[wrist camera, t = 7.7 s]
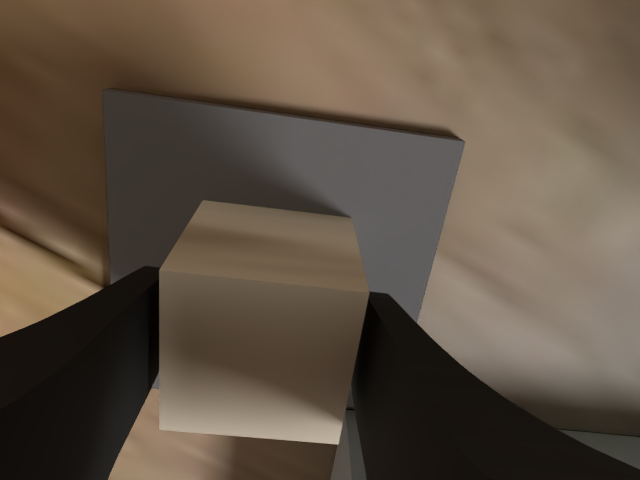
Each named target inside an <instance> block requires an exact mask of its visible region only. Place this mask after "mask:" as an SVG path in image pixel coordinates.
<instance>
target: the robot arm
mask: <svg viewBox="0 0 640 480" xmlns="http://www.w3.org/2000/svg"><path fill="white" fill-rule="evenodd" d="M159 270H160V267H152V266H144V267H142V268H139V269H138V270H136V271H134V272H132V273H130V274H128V275H127V276H125V277H123V278H121V279H120V280H118V281H116V282H114V283H113V284H111V285H109V286H107V287H106V288H104V289H102V290H100V291H98V292H97V293H95V294H93V295H91V296H89V297H88V298H86V299H84V300H82V301H80V302H78V303H76V304H74V305H72V306H70V307H68V308H66V309H64V310H62V311H60V312H58V313H56V314H54V315H52V316H50V317H48V318H46V319H43V320H41V321H39V322H37V323H34V324H32V325H30V326H27V327H25V328H23V329H20V330H17V331H15V332H12V333H10V334H7V335H5V336H2V337H0V480H108V477H109V475H110V473H111V470H112V468H113V466H114V463H115V461H116V459H117V457H118V454H119V452H120V450H121V448H122V446H123V444H124V442H125V440H126V438H127V436H128V434H129V432H130V430H131V428H132V426H133V424H134V422H135V420H136V418H137V416H138V414H139V412H140V410H141V408H142V406H143V404H144V402H145V400H146V398H147V396H148V394H149V392H150V390H151V388H152V386H153V384H154V382H155V379H156V377H157V375H158V373H159ZM351 391H352V399H353V405H354V410H355V416H356V422H357V428H358V433H359V439H360V444H361V450H362V456H363V461H364V467H365V472H366V479H367V480H640V469H638V468H636V467H633V466H631V465H629V464H627V463H624V462H622V461H620V460H618V459H616V458H613V457H611V456H609V455H607V454H605V453H602V452H600V451H598V450H596V449H594V448H592V447H590V446H588V445H586V444H584V443H582V442H580V441H578V440H576V439H574V438H572V437H570V436H568V435H567V434H565V433H563V432H561V431H559V430H557V429H555V428H553V427H552V426H550V425H548V424H546V423H545V422H543V421H541V420H539V419H538V418H536V417H534V416H533V415H531V414H530V413H528V412H526V411H525V410H523V409H522V408H520V407H518V406H517V405H515V404H514V403H512V402H511V401H509V400H507V399H506V398H504V397H503V396H502V395H500V394H499V393H497V392H496V391H494V390H493V389H492V388H490V387H489V386H488V385H486V384H485V383H484V382H482V381H481V380H480V379H478V378H477V377H476V376H474V375H473V374H472V373H470V372H469V371H468V370H467V369H465V368H464V367H463V366H462V365H460V364H459V363H458V362H457V361H456V360H455V359H454V358H453V357H451V356H450V355H449V354H448V353H447V352H446V351H445V350H444V349H442V348H441V347H440V346H439V345H438V344H437V343H436V342H435V341H434V340H433V339H432V338H431V337H430V336H429V335H428V334H427V333H426V332H425V331H424V330H423V329H422V328H421V327H420V326H419V325H418V324H417V323H416V322H415V321H414V320H413V319H412V318H411V317H410V316H409V314H408V313H407V312H406V311H405V310H404V309H403V308H402V307H401V306H400V305H399V304H398V303H397V302H396V301H395V300H394V299H393V298H392V297H391V296H390V295H389V294H388V293H379V292H370V291H369V297H368V302H367V307H366V312H365V317H364V322H363V327H362V332H361V337H360V342H359V346H358V351H357V356H356V361H355V366H354V371H353V376H352V381H351Z"/></svg>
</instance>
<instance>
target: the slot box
mask: <svg viewBox="0 0 640 480" xmlns="http://www.w3.org/2000/svg"><path fill="white" fill-rule="evenodd" d="M559 431H561V432H563V433H565V434H567V435H568V436H570V437H572V438H574V439H576V440H578V441H580V442H582V443H584V444H586V445H588V446H590V447H592V448H594V449H596V450H598V451H600V452H602V453H605V454H607V455H609V456H611V457H613V458H616V459H618V460H620V461H622V462H624V463H627V464H629V465H631V466H633V467H636V468H638V469H640V437H632V436H621V435H610V434H600V433H589V432H579V431H568V430H559ZM330 480H367V479H366V472H365V467H364V461H363V456H362V450H361V444H360V439H359V433H358V428H357V422H356V416H355V410H345V415H344V420H343V425H342V430H341V435H340V439H339V444H338V445H337V450H336V454H335V459H334V464H333V468H332V473H331V478H330Z"/></svg>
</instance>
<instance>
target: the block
mask: <svg viewBox="0 0 640 480" xmlns="http://www.w3.org/2000/svg"><path fill="white" fill-rule="evenodd" d="M368 297H369V288H368V284H367V280H366V276H365V271H364V267H363V263H362V259H361V254H360V250H359V246H358V241H357V237H356V233H355V229H354V224H353V220H352V218H349V217H341V216H333V215H324V214H316V213H307V212H299V211H291V210H282V209H274V208H265V207H257V206H249V205H240V204H232V203H223V202H215V201H207V200H203V201H202V202H201V204H200V206H199V207H198V209H197V210H196V212H195V214H194V215H193V217H192V218H191V220H190V222H189V223H188V225H187V226H186V228H185V230H184V231H183V233H182V234H181V236H180V238H179V239H178V241H177V242H176V244H175V246H174V247H173V249H172V250H171V252H170V254H169V255H168V257H167V258H166V260H165V262H164V263H163V265H162V266H161V268H160V270H159V416H160V430H168V431H180V432H192V433H204V434H217V435H229V436H241V437H253V438H265V439H277V440H289V441H302V442H314V443H326V444H339V439H340V435H341V430H342V425H343V420H344V415H345V410H346V405H347V400H348V395H349V390H350V386H351V381H352V376H353V371H354V366H355V361H356V356H357V351H358V346H359V342H360V337H361V332H362V327H363V322H364V317H365V312H366V307H367V302H368Z"/></svg>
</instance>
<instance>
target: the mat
mask: <svg viewBox="0 0 640 480" xmlns="http://www.w3.org/2000/svg"><path fill="white" fill-rule="evenodd" d="M103 114H104V138H105V163H106V188H107V213H108V237H109V262H110V285H111V284H113V283H114V282H116V281H118V280H120V279H121V278H123V277H125V276H127V275H128V274H130V273H132V272H134V271H136V270H138V269H139V268H142V267H144V266H152V267H160V268H161V266H162V265H163V263H164V262H165V260H166V258H167V257H168V255H169V254H170V252H171V250H172V249H173V247H174V246H175V244H176V242H177V241H178V239H179V238H180V236H181V234H182V233H183V231H184V230H185V228H186V226H187V225H188V223H189V222H190V220H191V218H192V217H193V215H194V214H195V212H196V210H197V209H198V207H199V206H200V204H201V202H202V201H203V200H207V201H215V202H223V203H232V204H240V205H249V206H257V207H265V208H274V209H282V210H291V211H299V212H307V213H316V214H324V215H333V216H341V217H349V218H352V220H353V224H354V229H355V233H356V237H357V241H358V246H359V250H360V254H361V259H362V263H363V267H364V271H365V276H366V280H367V284H368V288H369V291H370V292H379V293H388V294H389V295H390V296H391V297H392V298H393V299H394V300H395V301H396V302H397V303H398V304H399V305H400V306H401V307H402V308H403V309H404V310H405V311H406V312H407V313H408V314H409V316H410V317H411V318H412V319H413V320H414V321H415V322H416V323H417V320H418V316H419V312H420V309H421V305H422V301H423V297H424V294H425V290H426V286H427V283H428V279H429V275H430V271H431V268H432V264H433V260H434V256H435V253H436V249H437V245H438V241H439V238H440V234H441V230H442V227H443V223H444V219H445V215H446V212H447V208H448V204H449V200H450V197H451V193H452V189H453V185H454V182H455V178H456V174H457V170H458V167H459V163H460V159H461V156H462V152H463V148H464V144H465V141H463V140H462V139H460V138H453V137H446V136H439V135H432V134H425V133H418V132H411V131H404V130H397V129H390V128H383V127H376V126H369V125H362V124H355V123H348V122H341V121H334V120H327V119H320V118H313V117H306V116H299V115H292V114H285V113H278V112H271V111H264V110H257V109H250V108H243V107H236V106H229V105H222V104H215V103H208V102H201V101H194V100H187V99H180V98H173V97H166V96H159V95H152V94H145V93H138V92H131V91H124V90H117V89H110V88H109V89H105V90H103ZM152 388H155V389H159V373H158V375H157V377H156V379H155V382H154V384H153V386H152ZM346 407H354V405H353V399H352V391H351V386H350V390H349V395H348V400H347V405H346Z"/></svg>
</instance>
